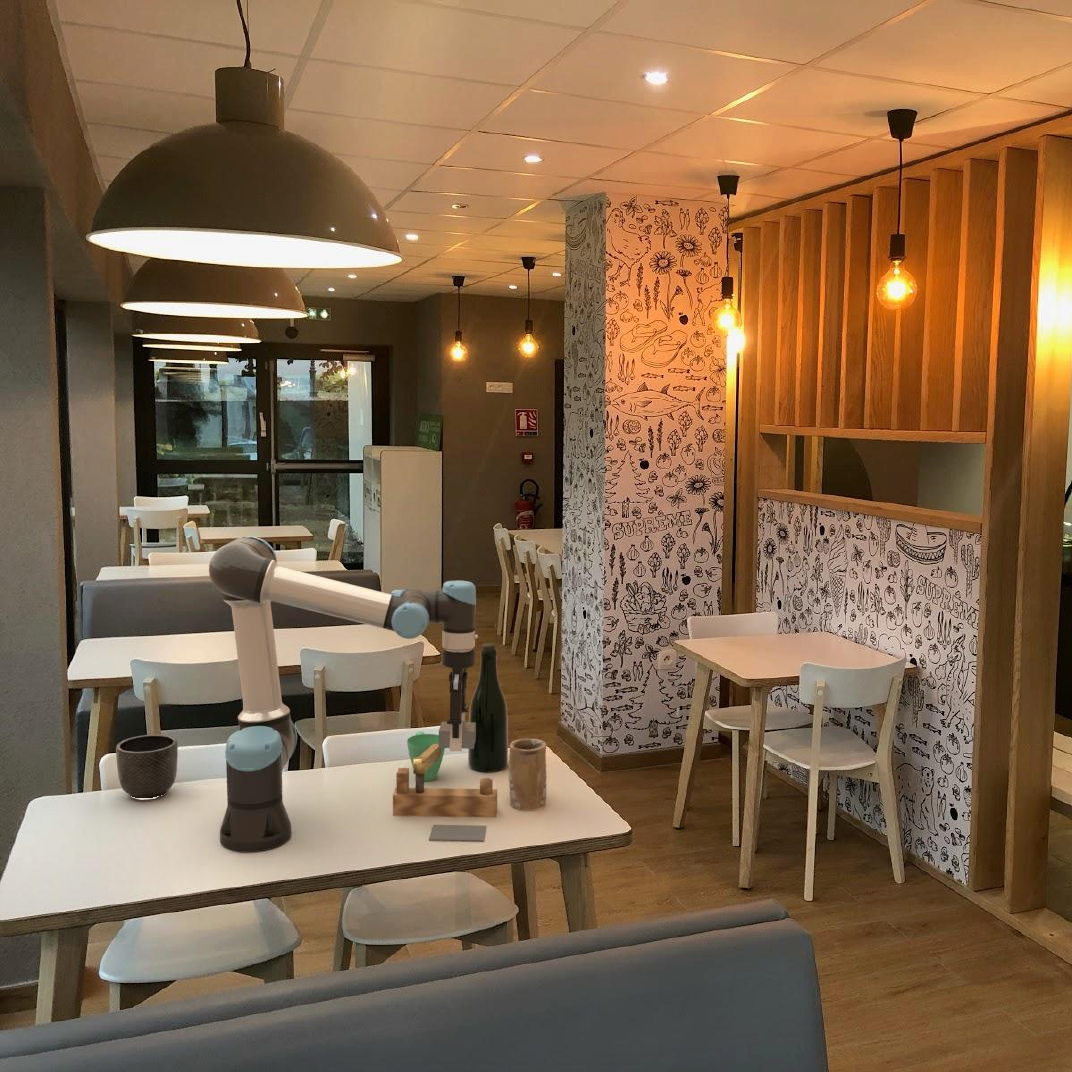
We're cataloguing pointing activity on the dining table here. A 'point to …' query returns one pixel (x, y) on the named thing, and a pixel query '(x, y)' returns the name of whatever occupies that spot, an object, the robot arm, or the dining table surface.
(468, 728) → the grey stone cube
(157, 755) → the planter
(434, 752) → the lever
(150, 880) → the dining table surface
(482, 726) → the green wine bottle
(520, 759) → the mug
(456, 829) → the mat
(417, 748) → the mug
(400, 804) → the body
